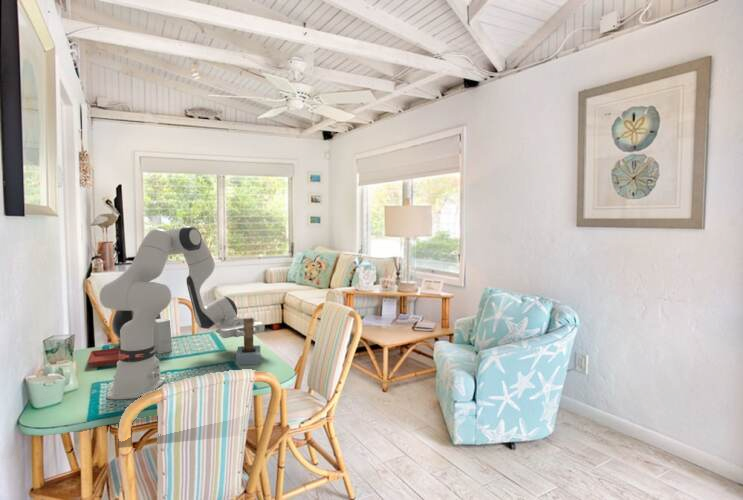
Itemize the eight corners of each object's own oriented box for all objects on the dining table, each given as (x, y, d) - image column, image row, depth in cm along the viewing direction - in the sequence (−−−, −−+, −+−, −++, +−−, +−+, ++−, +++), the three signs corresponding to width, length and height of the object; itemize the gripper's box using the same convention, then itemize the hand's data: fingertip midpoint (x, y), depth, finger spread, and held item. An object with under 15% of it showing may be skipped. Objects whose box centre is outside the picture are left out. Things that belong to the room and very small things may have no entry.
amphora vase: (141, 352, 211) (140, 292, 209) (102, 348, 215) (99, 290, 213) (171, 339, 232) (169, 285, 230) (134, 336, 236) (132, 283, 234)
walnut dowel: (253, 354, 201) (252, 319, 199) (244, 355, 200) (243, 319, 198) (253, 352, 204) (253, 317, 203) (244, 352, 203) (243, 317, 202)
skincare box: (172, 351, 212) (171, 320, 211) (158, 354, 208) (157, 322, 207) (165, 347, 218) (165, 317, 217) (152, 350, 214) (151, 319, 213)
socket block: (260, 363, 196) (260, 354, 196) (236, 365, 194) (236, 356, 194) (260, 353, 210) (260, 345, 210) (238, 355, 208) (237, 346, 207)
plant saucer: (91, 357, 203) (91, 350, 203) (136, 352, 211) (136, 345, 211) (86, 370, 187) (86, 362, 187) (136, 364, 195) (135, 356, 195)
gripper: (214, 323, 204) (226, 330, 194) (256, 317, 217) (269, 322, 207) (214, 337, 205) (226, 344, 194) (256, 330, 218) (270, 336, 207)
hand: (249, 333), depth 201 cm, fingers closed on walnut dowel, 4 cm apart
